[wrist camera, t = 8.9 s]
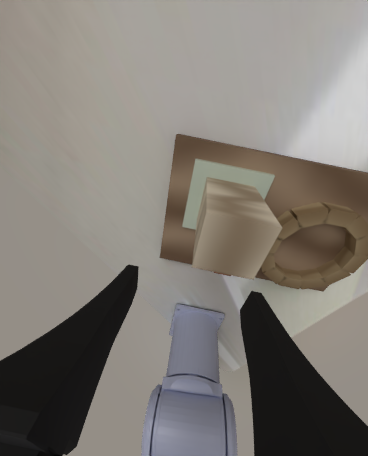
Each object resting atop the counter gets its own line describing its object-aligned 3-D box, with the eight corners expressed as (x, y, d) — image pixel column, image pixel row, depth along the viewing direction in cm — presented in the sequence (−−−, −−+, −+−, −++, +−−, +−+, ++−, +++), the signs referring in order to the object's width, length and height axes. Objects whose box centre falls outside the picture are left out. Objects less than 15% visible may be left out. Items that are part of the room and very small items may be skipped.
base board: (318, 283, 24) (330, 301, 21) (162, 251, 24) (157, 266, 21) (408, 181, 16) (441, 192, 14) (178, 133, 16) (173, 136, 14)
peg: (255, 186, 16) (282, 227, 10) (238, 228, 18) (252, 280, 13) (206, 176, 16) (206, 212, 10) (196, 219, 18) (191, 268, 13)
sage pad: (245, 237, 20) (246, 240, 19) (182, 224, 20) (182, 226, 19) (273, 174, 16) (275, 175, 15) (195, 158, 16) (195, 159, 15)
